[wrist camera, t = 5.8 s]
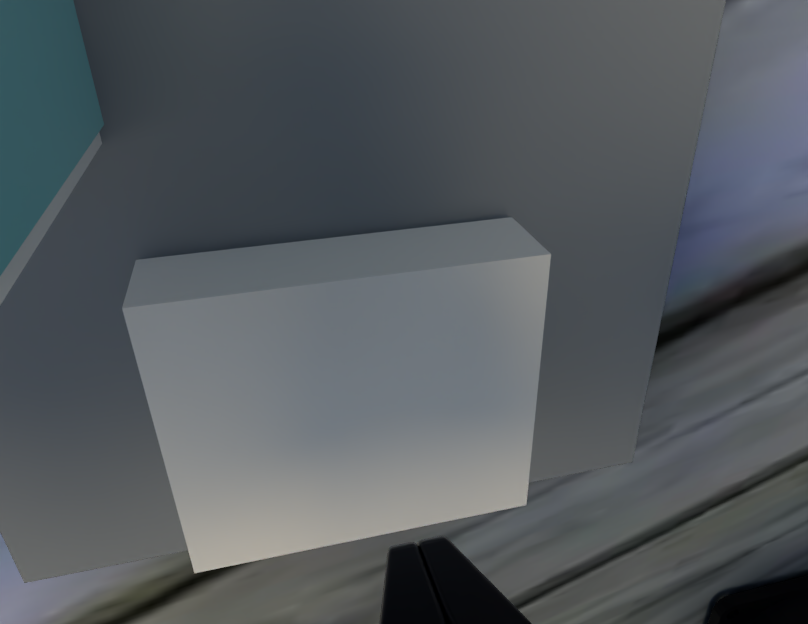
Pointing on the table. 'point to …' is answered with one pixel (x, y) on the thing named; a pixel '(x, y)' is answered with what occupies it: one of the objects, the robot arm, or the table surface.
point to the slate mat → (346, 211)
